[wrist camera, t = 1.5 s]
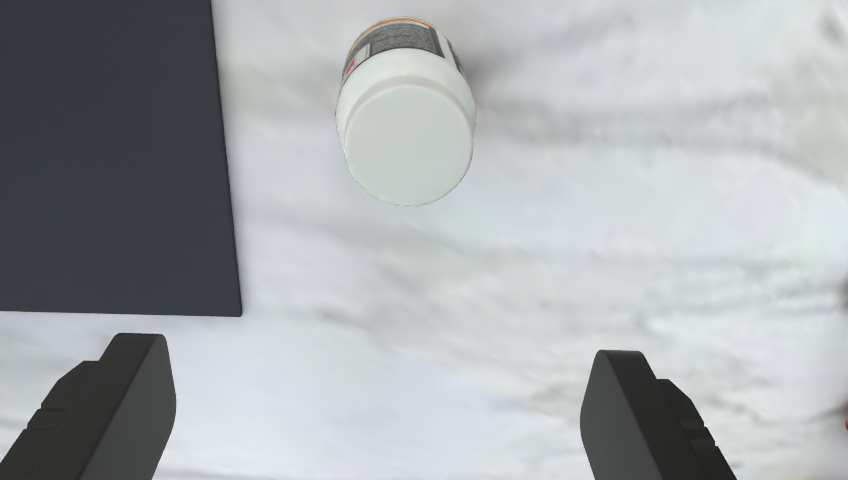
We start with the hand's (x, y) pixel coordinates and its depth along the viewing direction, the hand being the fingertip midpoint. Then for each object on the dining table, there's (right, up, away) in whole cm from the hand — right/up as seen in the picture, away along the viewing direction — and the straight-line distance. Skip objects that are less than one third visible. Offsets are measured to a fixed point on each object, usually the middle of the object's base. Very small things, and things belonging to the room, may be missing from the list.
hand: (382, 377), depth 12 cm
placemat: (-17, +7, +20) cm, 27 cm away
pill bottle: (0, +11, +19) cm, 22 cm away
